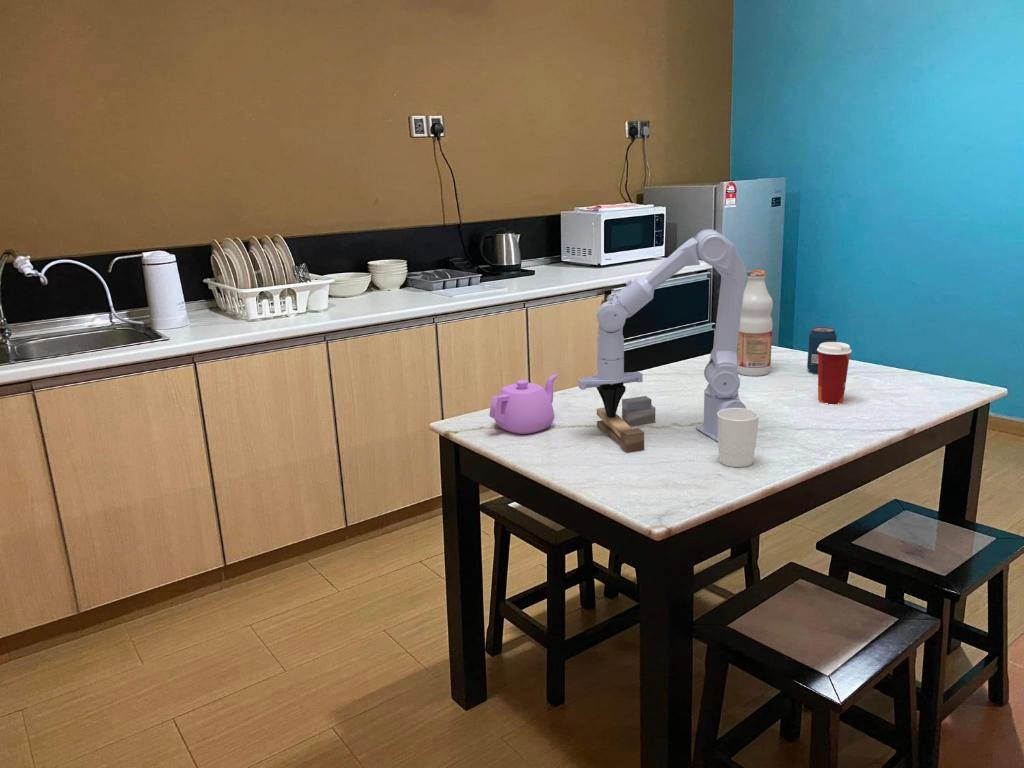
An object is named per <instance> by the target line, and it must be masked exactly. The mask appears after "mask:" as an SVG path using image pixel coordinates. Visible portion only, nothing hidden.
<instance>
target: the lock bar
mask: <svg viewBox="0 0 1024 768" xmlns="http://www.w3.org/2000/svg"><path fill="white" fill-rule="evenodd" d="M652 403H653V402H652V398H650V397H648V396H647V395H643V396H635V397H629V398H621V408H623V409H625V410H626V411H633V410H640V409H646V408H651V405H652V406H653V404H652Z"/></svg>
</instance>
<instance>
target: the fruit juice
mask: <svg viewBox="0 0 1024 768" xmlns="http://www.w3.org/2000/svg"><path fill="white" fill-rule="evenodd" d="M766 277H767V272H766V270H764V269H763V270H761V269H751V270H750V269H749V270H746V279H747V282H746V283H745V287H744V295H743V303H742V311H741V319H740V327H739V335H738V343H737V351H736V355H737V364H738V366H737V374H738V375H742V376H748V377H759V376H766V375H768V374H770V372H771V365H772V364H771V362H772V344H773V343H772V342H773V318H772V316H771V315H772V310H773V306H774V301H773V298H772V296H771V295H770V293H769V291H768V289H767V285H766V280H765V279H766Z"/></svg>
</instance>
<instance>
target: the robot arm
mask: <svg viewBox="0 0 1024 768" xmlns="http://www.w3.org/2000/svg"><path fill="white" fill-rule="evenodd" d="M700 260H702V261H703V262H704V263H705V264H707V265H709V266H710V267H713V268H714V270H716V272H717V273H719V275H720V276H721V277H720V278H721V279H720V287H719V295H718V303H717V304H718V305H717V313H716V321H715V322H716V323H715V330H714V331H715V332H714V339H713V348H712V349H711V352H710V356H709V357H710V358H709V360H708V363H707V364H706V365H705V368H704V369H703V370H704V371H703V374H704V379H705V380H706V381H707V383H708V384H707V385H706V387H705V389H704V392H703V393H704V394H703V399H704V400H703V425H702V424H701V425H696V426H695V429H696V430H698V431H700V432H702V433H703V434H705V435H706V436H707V437H709V438H710V439H712V440H714V441H716V442H718V428H717V413H718V411H720V410H723V409H727V408H744V409H747V407H746V405H745V403H743V401H741V399H740V397H739V389H740V387H741V380H740V379H741V378H740V377H739V373H737V366H738V364H737V355H736V351H737V343H738V335H739V327H740V319H741V311H742V303H743V295H744V289H745V287H746V279H747V268H746V265H745V264H744V262H743V260H742V259H741V256H740V255H739V252H738V251H737V249H736V247H735V244H734V243H733V242H731V241H730V240H729V239H728V238H727V237H726V236H725V235H723V234H722V233H720V232H719V231H717V230H715V229H713V228H712V229H711V228H705V229H703V230H701V231H699V232H697V234H696V235H695V236H694V237H691V238H689V239H688V240H686V241H685V242H683V244H682V245H680V246H679V247H678V248H677V249H676V250H674V251H673V252H672V253H671V254H670V255H669V256H667V257H666V259H664V260H663V261H662V262H661V263H660V264H659V265H658V266H657V267H655V268H654V269H653V270H652V271H651V272H650V273H649V274H648V275H647V276H646V277H635V278H634V279H632V280H631V278H630V279H628V280H627V281H625V286H624V287H623V288H622V289H620V290H619V291H618V292H617V293H615V295H612V294H611V295H610V296H608V301H605V302H603V303H602V304H601V305H600V306H599V307H598V309H597V312H596V318H597V319H596V321H597V323H598V328H597V334H598V336H597V341H596V342H597V343H596V344H597V346H596V347H597V348H596V349H597V374H596V375H591V376H587V377H584V378H578V379H577V381H578V388H579V389H580V390H582V391H583V390H587V389H590V388H591V389H592V388H596V390H597V391H598V393H599V396H600V398H601V401H602V402H603V408H605V411H606V415H607V416H608V417H609V418H611V417H615V416H616V414H617V411H618V407H619V404H620V401H622V399H623V398H622V397H623V396H624V394H625V393H626V390H627V389H626V387H627V386H625V385H624V384H632V383H643V382H644V381H643V380H644V379H643V372H640V371H633V372H632V371H631V372H625V369H624V368H625V351H624V350H625V340H624V339H625V337H624V335H623V333H624V332H623V330H624V326H625V324H626V320H627V319H629V318H631V317H633V316H634V315H635V314H636V313H637V312H638V311H640V310H641V309H642V308H643V307H645V306H646V305H647V304H648V303H649V302H651V301H652V300H653V299H654V294H655V290H656V289H657V288H659V287H660V286H662V284H664V283H665V282H666V281H668V280H669V279H671V278H672V277H673V276H674V275H675V274H677V273H678V272H679V271H681V270H683V269H684V268H685V267H691V266H700V265H701V263H700Z"/></svg>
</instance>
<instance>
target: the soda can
mask: <svg viewBox="0 0 1024 768" xmlns="http://www.w3.org/2000/svg"><path fill="white" fill-rule="evenodd" d="M837 336H838V335H837V334H836V331H835V328H833V327H830V326H829V327H828V326H816V327H812V329H811V331H810V332H809V335H808V348H807V364H806V365H807V366H806V367H807V370H808V372H809V373H810V374H812V373H813V375H817V374H818V351H817V348H818V347H819V345H820V344H821V343H825V342H837V338H838V337H837Z"/></svg>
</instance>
